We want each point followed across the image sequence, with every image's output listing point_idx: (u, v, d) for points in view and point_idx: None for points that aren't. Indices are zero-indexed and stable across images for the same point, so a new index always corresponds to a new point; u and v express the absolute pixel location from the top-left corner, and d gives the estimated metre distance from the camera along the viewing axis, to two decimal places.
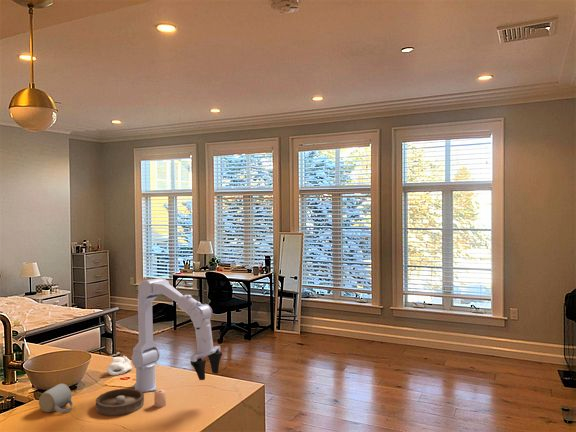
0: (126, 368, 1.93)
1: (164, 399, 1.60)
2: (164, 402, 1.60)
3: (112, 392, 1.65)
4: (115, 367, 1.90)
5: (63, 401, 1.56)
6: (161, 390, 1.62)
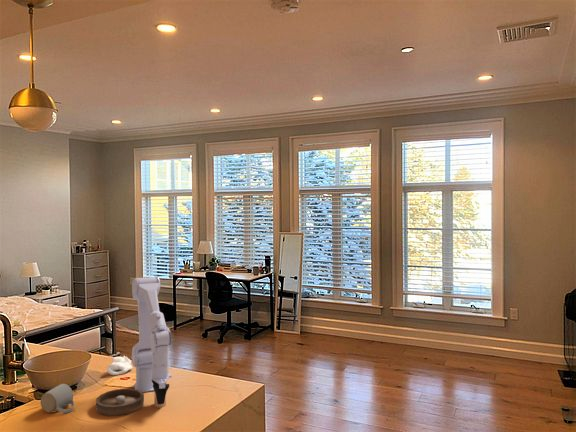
0: (126, 368, 1.93)
1: None
2: (164, 402, 1.60)
3: (112, 392, 1.65)
4: (115, 367, 1.90)
5: (65, 401, 1.56)
6: None
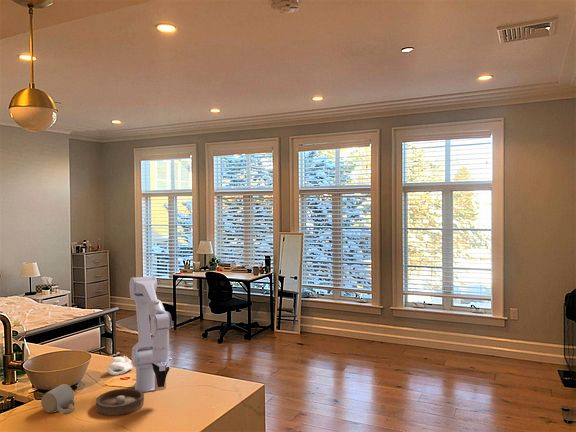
0: (126, 368, 1.93)
1: None
2: (164, 385, 1.60)
3: (112, 392, 1.65)
4: (115, 367, 1.90)
5: (65, 401, 1.56)
6: None
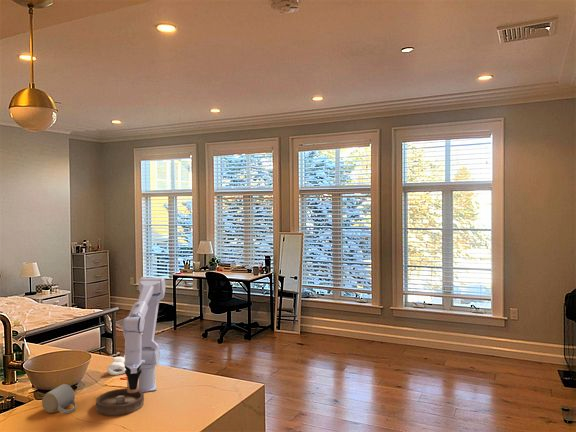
0: None
1: (137, 385, 1.61)
2: (137, 388, 1.61)
3: (112, 392, 1.65)
4: (116, 367, 1.90)
5: (66, 402, 1.56)
6: None
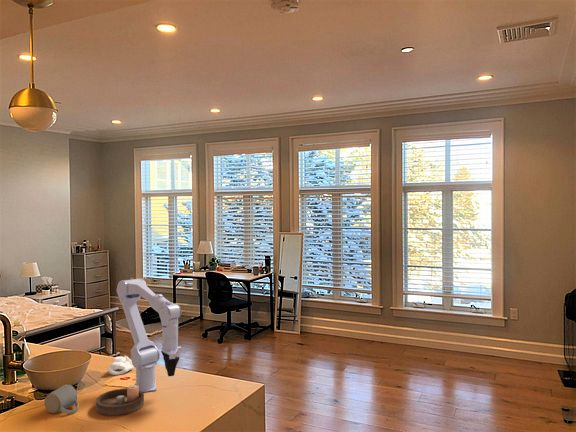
0: (127, 368, 1.93)
1: (136, 395, 1.61)
2: (137, 398, 1.61)
3: (112, 392, 1.65)
4: (116, 367, 1.91)
5: (69, 402, 1.56)
6: (134, 386, 1.62)
